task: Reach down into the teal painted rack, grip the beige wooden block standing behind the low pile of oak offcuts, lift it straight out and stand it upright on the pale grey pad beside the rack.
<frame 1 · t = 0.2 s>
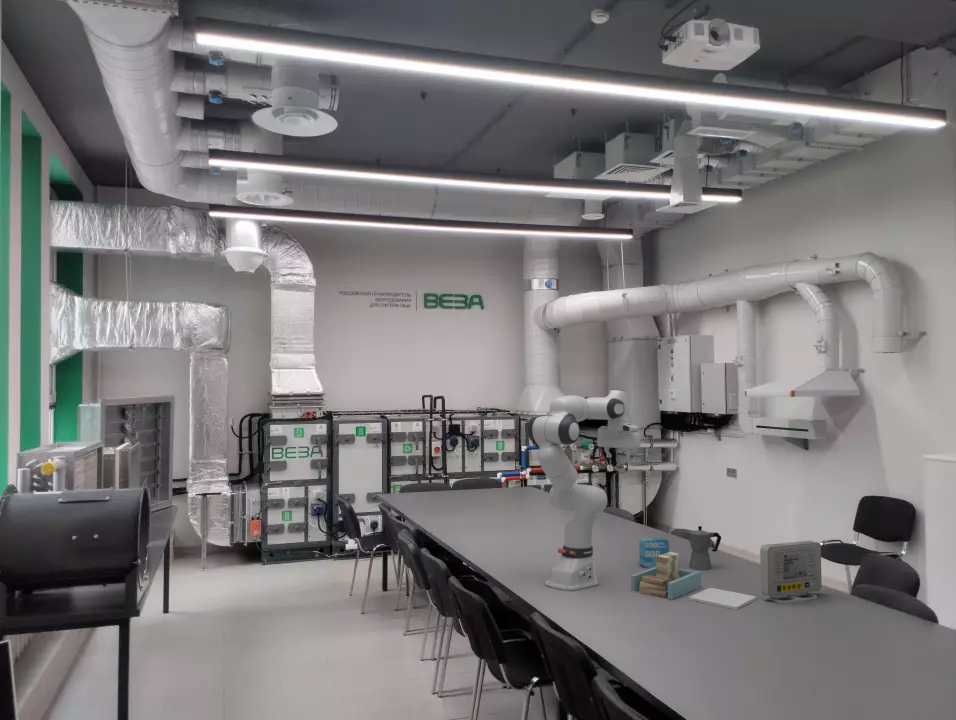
hand: (618, 458, 315), 48 cm above the table, tool pointing down, fingers open, 8 cm apart
pad: (722, 599, 265), on the table
data package: (654, 566, 316), on the table
rack: (668, 588, 280), on the table
beige wooden block: (668, 571, 280), in the rack
coffeepot: (703, 568, 313), on the table
offcut stack: (655, 593, 273), resting in rack
network device: (792, 598, 268), on the table
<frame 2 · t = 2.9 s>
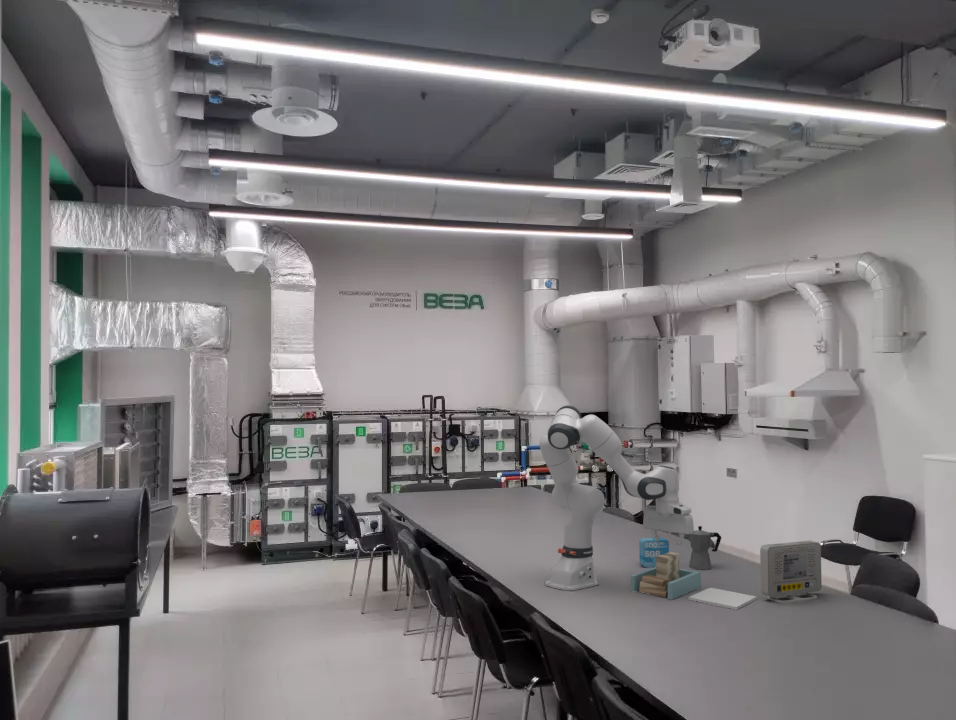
hand: (668, 542, 281), 18 cm above the table, tool pointing down, fingers open, 8 cm apart
nothing on the table moved.
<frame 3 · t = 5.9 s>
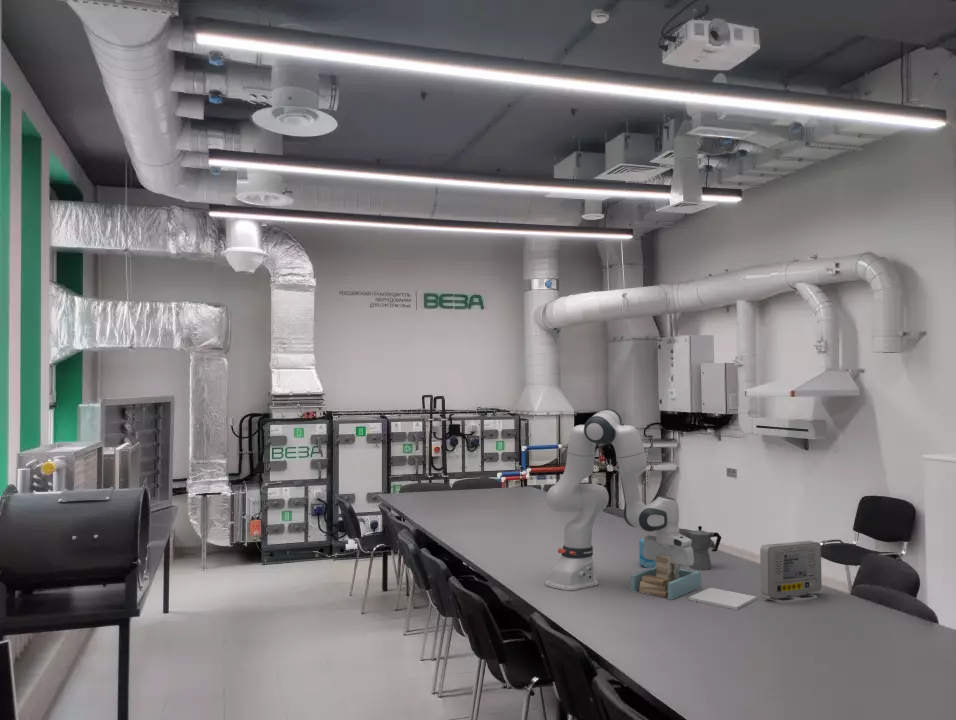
hand: (668, 574, 280), 6 cm above the table, tool pointing down, fingers closed on beige wooden block, 4 cm apart
beige wooden block: (668, 571, 280), in the rack, touching gripper
everything else where it was.
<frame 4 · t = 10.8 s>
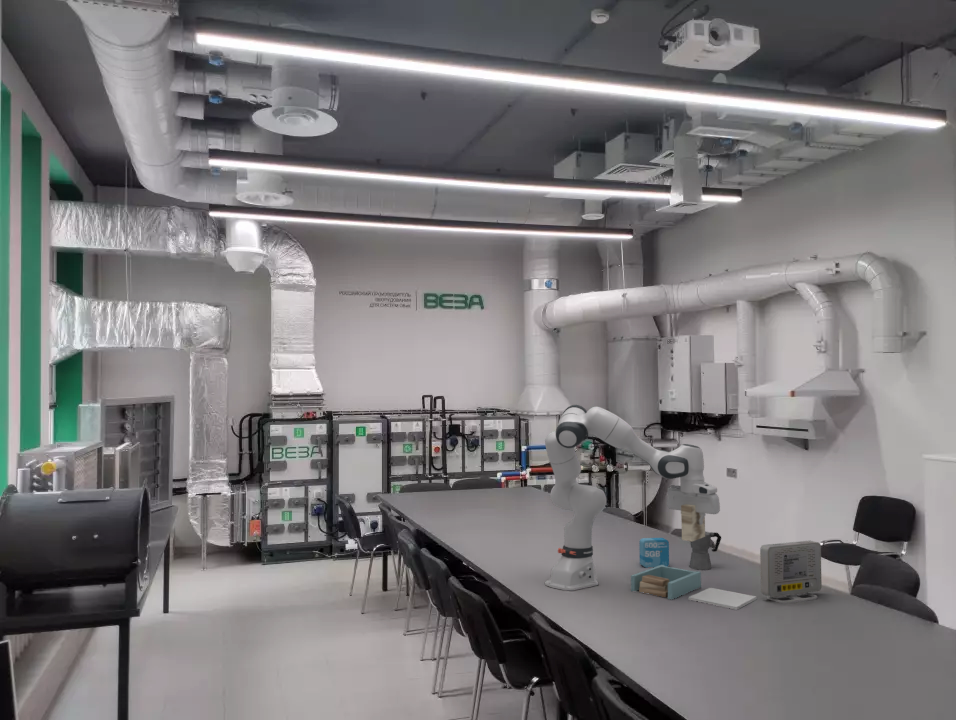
hand: (693, 523, 273), 27 cm above the table, tool pointing down, fingers closed on beige wooden block, 4 cm apart
beige wooden block: (693, 521, 273), point 27 cm above the table, touching gripper
everything else where it was.
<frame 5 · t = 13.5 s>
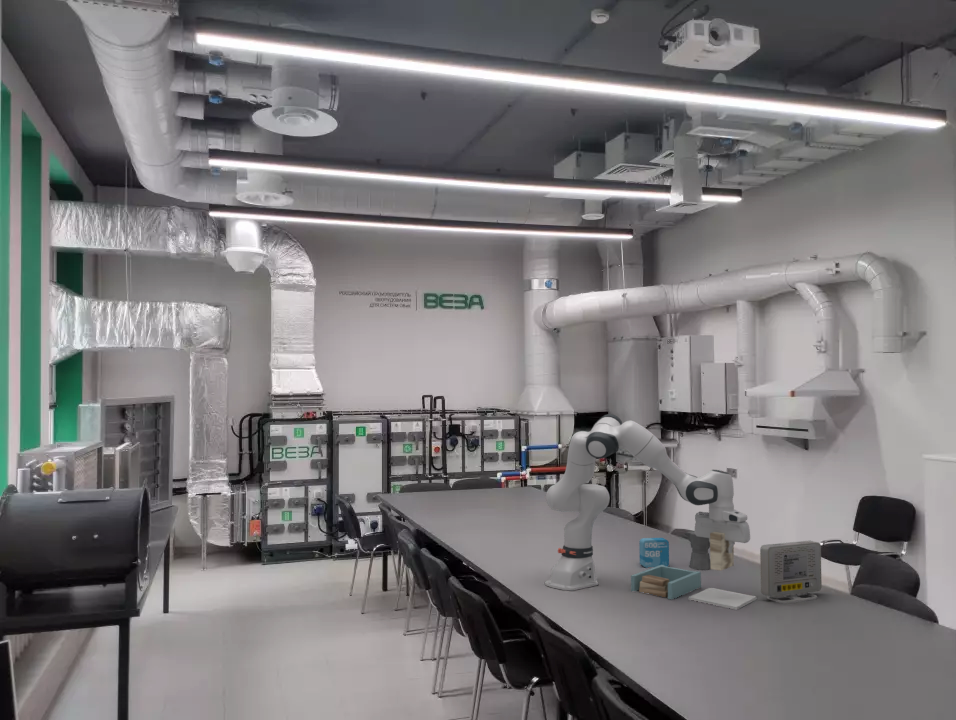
hand: (721, 551, 265), 18 cm above the table, tool pointing down, fingers closed on beige wooden block, 4 cm apart
beige wooden block: (722, 549, 266), point 18 cm above the table, touching gripper
everything else where it was.
when the fingers open (8 cm above the table, at t = 16.0 s): beige wooden block drops 1 cm, resting on pad.
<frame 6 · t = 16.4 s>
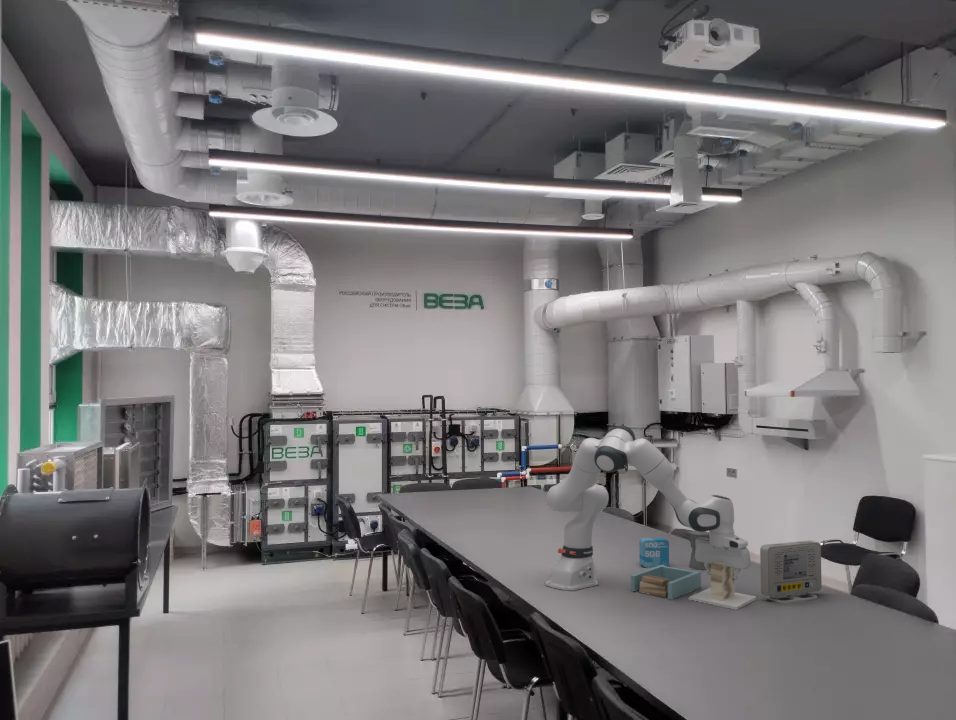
hand: (722, 577, 265), 8 cm above the table, tool pointing down, fingers open, 8 cm apart
beige wooden block: (722, 579, 265), on the pad, point 8 cm above the table
everything else where it was.
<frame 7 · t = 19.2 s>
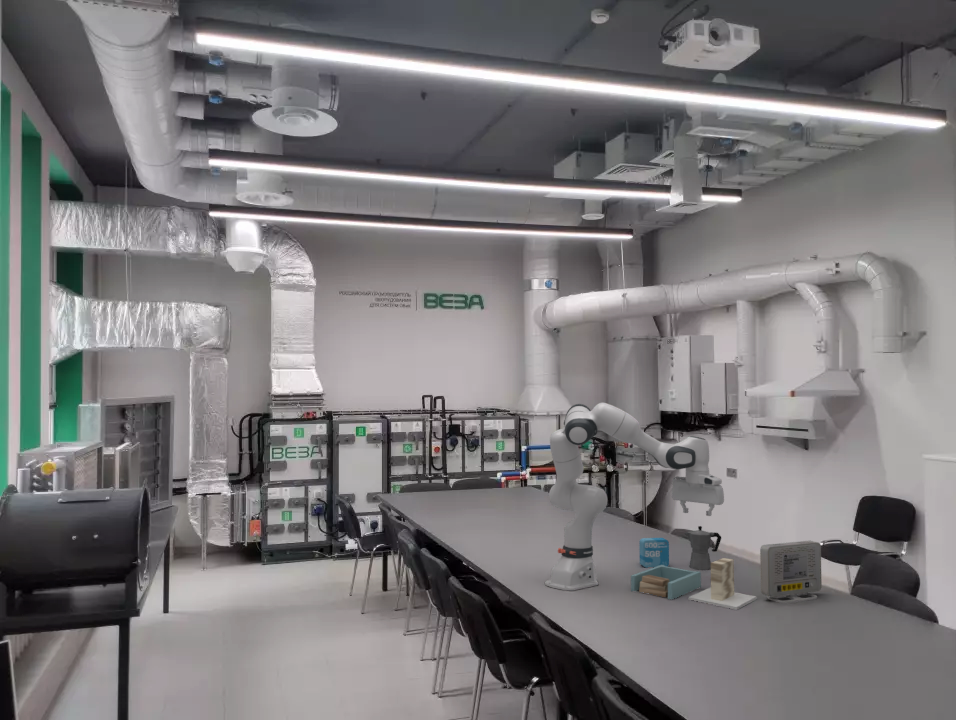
hand: (697, 514, 278), 29 cm above the table, tool pointing down, fingers open, 8 cm apart
nothing on the table moved.
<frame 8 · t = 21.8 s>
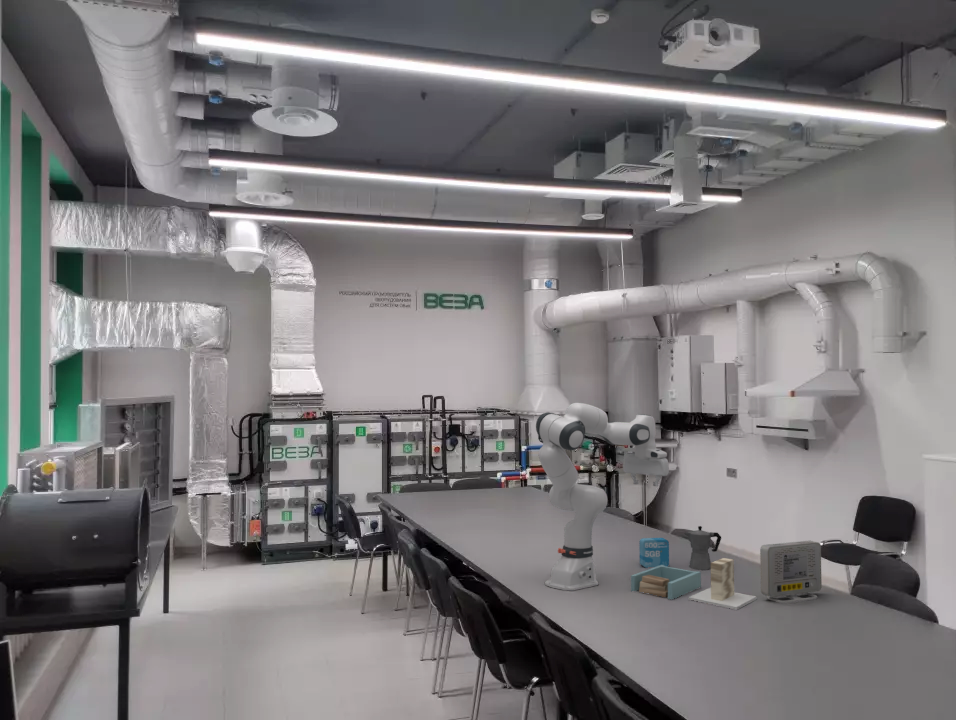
hand: (645, 485, 305), 37 cm above the table, tool pointing down, fingers open, 8 cm apart
nothing on the table moved.
at the end: beige wooden block inside the target area on the pad (0.1 cm from its centre), point 7.5 cm above the pad's base; beige wooden block tilted 0°; the gripper is holding nothing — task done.
